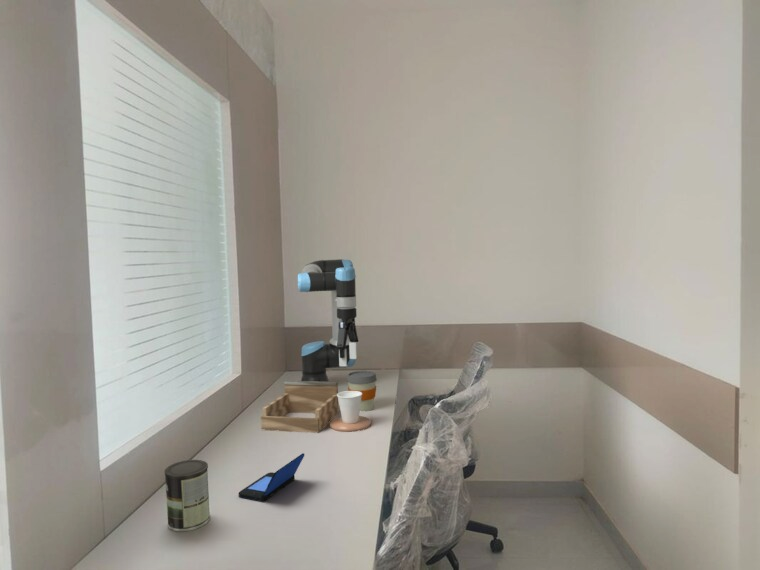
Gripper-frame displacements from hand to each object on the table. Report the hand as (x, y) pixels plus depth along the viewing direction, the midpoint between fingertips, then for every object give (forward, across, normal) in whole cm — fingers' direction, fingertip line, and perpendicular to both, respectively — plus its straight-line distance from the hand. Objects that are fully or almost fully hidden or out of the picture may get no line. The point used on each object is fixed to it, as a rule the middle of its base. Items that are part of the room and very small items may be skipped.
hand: (348, 362), depth 210 cm
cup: (+24, 0, 0) cm, 24 cm away
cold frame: (+25, -2, -21) cm, 32 cm away
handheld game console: (+24, +59, -6) cm, 64 cm away
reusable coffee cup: (+25, -22, -1) cm, 33 cm away
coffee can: (+24, +80, -19) cm, 86 cm away
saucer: (+24, 0, 0) cm, 25 cm away
